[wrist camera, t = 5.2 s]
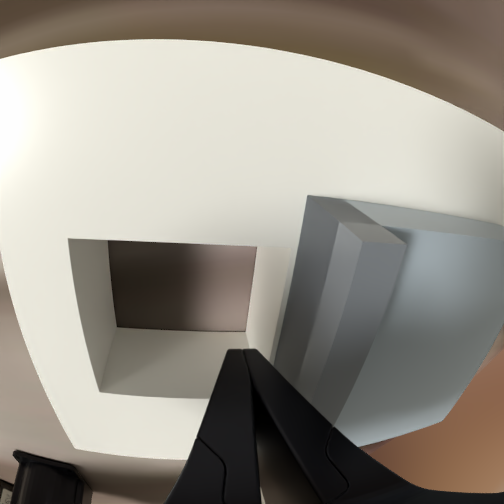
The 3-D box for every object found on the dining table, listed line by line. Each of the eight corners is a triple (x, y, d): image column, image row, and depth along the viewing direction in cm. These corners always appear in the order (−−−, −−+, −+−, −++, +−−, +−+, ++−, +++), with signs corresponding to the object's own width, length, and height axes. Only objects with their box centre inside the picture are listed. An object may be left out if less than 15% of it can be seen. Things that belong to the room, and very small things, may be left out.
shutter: (260, 421, 11) (274, 484, 9) (307, 195, 8) (362, 241, 5) (423, 393, 13) (451, 435, 10) (500, 224, 9) (554, 257, 7)
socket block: (88, 391, 15) (75, 448, 11) (53, 71, 8) (-4, 60, 5) (392, 381, 18) (419, 424, 15) (476, 135, 12) (536, 151, 8)
